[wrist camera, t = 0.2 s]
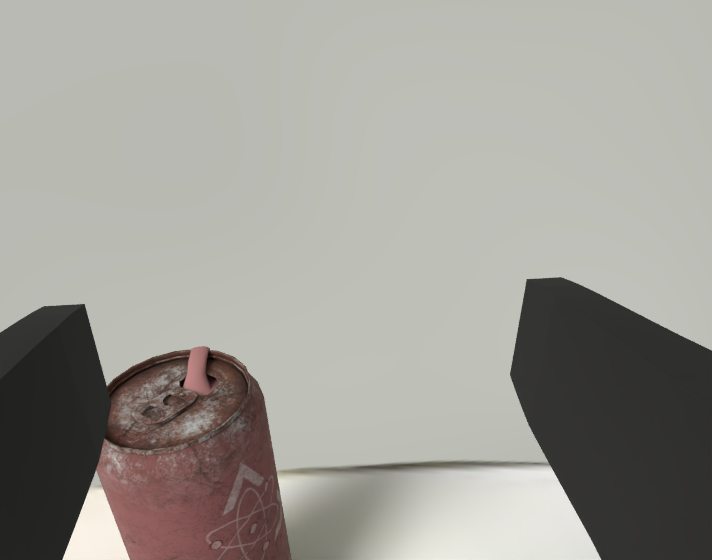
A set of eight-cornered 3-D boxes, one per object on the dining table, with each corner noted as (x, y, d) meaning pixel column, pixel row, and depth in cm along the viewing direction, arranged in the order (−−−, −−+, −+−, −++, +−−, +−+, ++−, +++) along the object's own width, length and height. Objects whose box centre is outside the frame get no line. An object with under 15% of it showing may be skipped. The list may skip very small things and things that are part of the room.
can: (300, 555, 30) (265, 331, 23) (298, 690, 24) (251, 446, 17) (182, 567, 29) (113, 344, 23) (153, 706, 24) (50, 464, 17)
